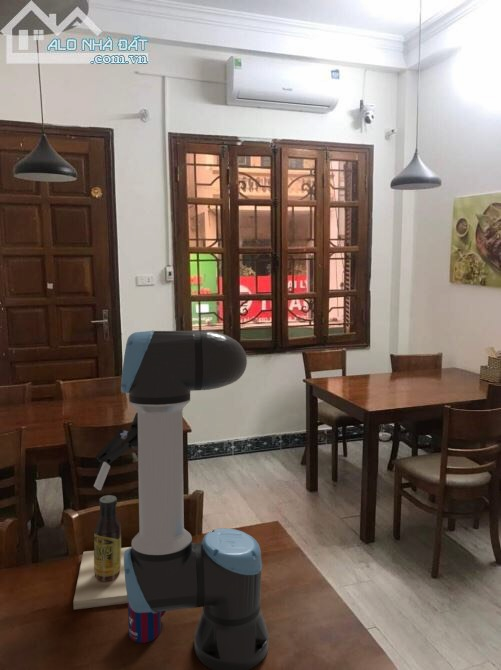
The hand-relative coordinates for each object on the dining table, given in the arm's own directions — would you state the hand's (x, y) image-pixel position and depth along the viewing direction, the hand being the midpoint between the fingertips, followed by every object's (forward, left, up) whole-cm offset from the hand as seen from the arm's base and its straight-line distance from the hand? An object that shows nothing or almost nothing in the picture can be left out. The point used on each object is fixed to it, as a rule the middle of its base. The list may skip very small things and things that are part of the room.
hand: (120, 492), depth 128 cm
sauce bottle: (-6, +3, -18) cm, 20 cm away
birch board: (-4, +3, -20) cm, 21 cm away
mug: (-23, -7, -21) cm, 32 cm away
